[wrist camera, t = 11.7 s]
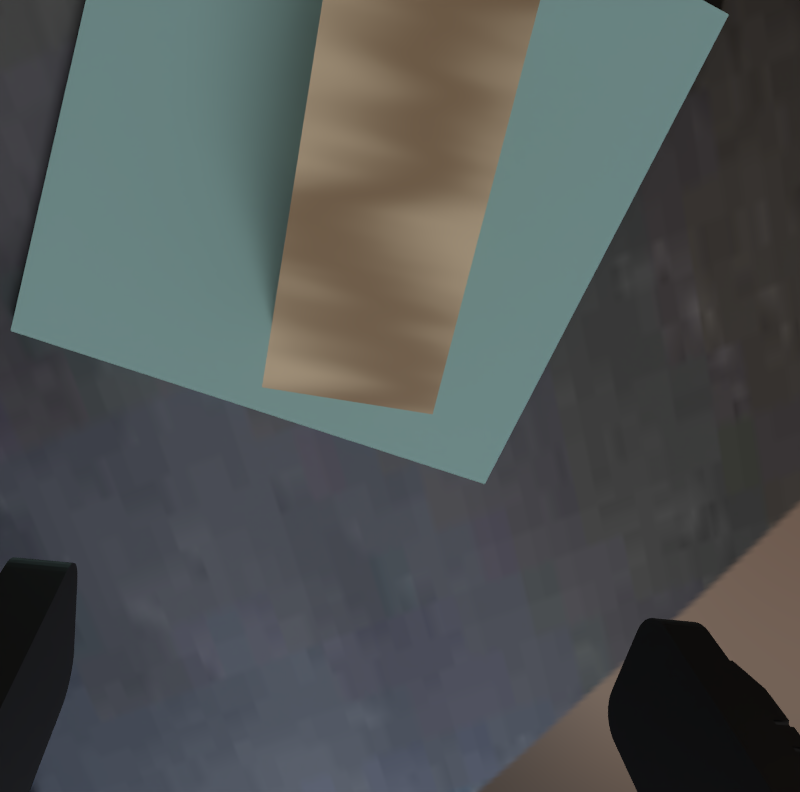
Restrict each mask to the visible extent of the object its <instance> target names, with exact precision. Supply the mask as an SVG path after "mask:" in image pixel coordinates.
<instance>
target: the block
mask: <svg viewBox="0 0 800 792" xmlns="http://www.w3.org/2000/svg"><path fill="white" fill-rule="evenodd" d="M539 3H540V0H323V1H322V8H321V14H320V21H319V27H318V33H317V40H316V46H315V52H314V59H313V65H312V71H311V78H310V84H309V91H308V97H307V103H306V110H305V116H304V122H303V129H302V135H301V142H300V148H299V154H298V161H297V167H296V173H295V180H294V186H293V192H292V199H291V205H290V212H289V218H288V224H287V231H286V237H285V243H284V250H283V256H282V262H281V269H280V275H279V282H278V288H277V294H276V301H275V307H274V313H273V320H272V326H271V333H270V339H269V345H268V352H267V358H266V364H265V371H264V377H263V383H262V387H263V388H269V389H276V390H282V391H288V392H295V393H301V394H307V395H313V396H320V397H326V398H332V399H339V400H345V401H351V402H357V403H364V404H370V405H376V406H383V407H389V408H395V409H402V410H408V411H414V412H420V413H427V414H433V411H434V407H435V403H436V399H437V396H438V392H439V388H440V384H441V380H442V376H443V373H444V369H445V365H446V361H447V357H448V353H449V349H450V346H451V342H452V338H453V334H454V330H455V326H456V322H457V319H458V315H459V311H460V307H461V303H462V299H463V295H464V292H465V288H466V284H467V280H468V276H469V272H470V269H471V265H472V261H473V257H474V253H475V249H476V245H477V242H478V238H479V234H480V230H481V226H482V222H483V218H484V215H485V211H486V207H487V203H488V199H489V195H490V192H491V188H492V184H493V180H494V176H495V172H496V168H497V165H498V161H499V157H500V153H501V149H502V145H503V141H504V138H505V134H506V130H507V126H508V122H509V118H510V114H511V111H512V107H513V103H514V99H515V95H516V91H517V88H518V84H519V80H520V76H521V72H522V68H523V64H524V61H525V57H526V53H527V49H528V45H529V41H530V37H531V34H532V30H533V26H534V22H535V18H536V14H537V11H538V7H539Z"/></svg>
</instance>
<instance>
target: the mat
mask: <svg viewBox="0 0 800 792" xmlns="http://www.w3.org/2000/svg"><path fill="white" fill-rule="evenodd" d="M322 1H323V0H86V2H85V6H84V10H83V15H82V19H81V24H80V28H79V32H78V37H77V41H76V46H75V50H74V54H73V59H72V63H71V68H70V72H69V76H68V81H67V85H66V90H65V94H64V98H63V103H62V107H61V112H60V116H59V120H58V125H57V129H56V134H55V138H54V142H53V147H52V151H51V156H50V160H49V164H48V169H47V173H46V177H45V182H44V186H43V191H42V195H41V199H40V204H39V208H38V213H37V217H36V221H35V226H34V230H33V235H32V239H31V243H30V248H29V252H28V257H27V261H26V265H25V270H24V274H23V279H22V283H21V287H20V292H19V296H18V301H17V305H16V309H15V314H14V318H13V323H12V327H11V331H13V332H16V333H19V334H22V335H25V336H28V337H31V338H34V339H38V340H41V341H44V342H47V343H50V344H53V345H56V346H59V347H62V348H65V349H68V350H72V351H75V352H78V353H81V354H84V355H87V356H90V357H93V358H96V359H99V360H102V361H106V362H109V363H112V364H115V365H118V366H121V367H124V368H127V369H130V370H133V371H137V372H140V373H143V374H146V375H149V376H152V377H155V378H158V379H161V380H164V381H167V382H171V383H174V384H177V385H180V386H183V387H186V388H189V389H192V390H195V391H198V392H201V393H205V394H208V395H211V396H214V397H217V398H220V399H223V400H226V401H229V402H232V403H235V404H239V405H242V406H245V407H248V408H251V409H254V410H257V411H260V412H263V413H266V414H270V415H273V416H276V417H279V418H282V419H285V420H288V421H291V422H294V423H297V424H300V425H304V426H307V427H310V428H313V429H316V430H319V431H322V432H325V433H328V434H331V435H334V436H338V437H341V438H344V439H347V440H350V441H353V442H356V443H359V444H362V445H365V446H368V447H372V448H375V449H378V450H381V451H384V452H387V453H390V454H393V455H396V456H399V457H403V458H406V459H409V460H412V461H415V462H418V463H421V464H424V465H427V466H430V467H433V468H437V469H440V470H443V471H446V472H449V473H452V474H455V475H458V476H461V477H464V478H467V479H471V480H474V481H477V482H480V483H483V484H485V483H486V481H487V479H488V477H489V475H490V473H491V471H492V469H493V467H494V465H495V463H496V461H497V459H498V458H499V456H500V454H501V452H502V450H503V448H504V446H505V444H506V442H507V440H508V438H509V436H510V434H511V433H512V431H513V429H514V427H515V425H516V423H517V421H518V419H519V417H520V415H521V413H522V411H523V409H524V408H525V406H526V404H527V402H528V400H529V398H530V396H531V394H532V392H533V390H534V388H535V386H536V384H537V383H538V381H539V379H540V377H541V375H542V373H543V371H544V369H545V367H546V365H547V363H548V361H549V359H550V358H551V356H552V354H553V352H554V350H555V348H556V346H557V344H558V342H559V340H560V338H561V336H562V334H563V333H564V331H565V329H566V327H567V325H568V323H569V321H570V319H571V317H572V315H573V313H574V311H575V309H576V308H577V306H578V304H579V302H580V300H581V298H582V296H583V294H584V292H585V290H586V288H587V286H588V284H589V283H590V281H591V279H592V277H593V275H594V273H595V271H596V269H597V267H598V265H599V263H600V261H601V259H602V258H603V256H604V254H605V252H606V250H607V248H608V246H609V244H610V242H611V240H612V238H613V236H614V234H615V233H616V231H617V229H618V227H619V225H620V223H621V221H622V219H623V217H624V215H625V213H626V211H627V209H628V208H629V206H630V204H631V202H632V200H633V198H634V196H635V194H636V192H637V190H638V188H639V186H640V184H641V183H642V181H643V179H644V177H645V175H646V173H647V171H648V169H649V167H650V165H651V163H652V161H653V159H654V158H655V156H656V154H657V152H658V150H659V148H660V146H661V144H662V142H663V140H664V138H665V136H666V134H667V133H668V131H669V129H670V127H671V125H672V123H673V121H674V119H675V117H676V115H677V113H678V111H679V109H680V108H681V106H682V104H683V102H684V100H685V98H686V96H687V94H688V92H689V90H690V88H691V86H692V84H693V83H694V81H695V79H696V77H697V75H698V73H699V71H700V69H701V67H702V65H703V63H704V61H705V59H706V58H707V56H708V54H709V52H710V50H711V48H712V46H713V44H714V42H715V40H716V38H717V36H718V34H719V33H720V31H721V29H722V27H723V25H724V23H725V21H726V19H727V17H728V15H729V14H727V13H725V12H723V11H721V10H720V9H718V8H716V7H714V6H712V5H711V4H709V3H707V2H705V1H703V0H540V3H539V7H538V11H537V14H536V18H535V22H534V26H533V30H532V34H531V37H530V41H529V45H528V49H527V53H526V57H525V61H524V64H523V68H522V72H521V76H520V80H519V84H518V88H517V91H516V95H515V99H514V103H513V107H512V111H511V114H510V118H509V122H508V126H507V130H506V134H505V138H504V141H503V145H502V149H501V153H500V157H499V161H498V165H497V168H496V172H495V176H494V180H493V184H492V188H491V192H490V195H489V199H488V203H487V207H486V211H485V215H484V218H483V222H482V226H481V230H480V234H479V238H478V242H477V245H476V249H475V253H474V257H473V261H472V265H471V269H470V272H469V276H468V280H467V284H466V288H465V292H464V295H463V299H462V303H461V307H460V311H459V315H458V319H457V322H456V326H455V330H454V334H453V338H452V342H451V346H450V349H449V353H448V357H447V361H446V365H445V369H444V373H443V376H442V380H441V384H440V388H439V392H438V396H437V399H436V403H435V407H434V411H433V414H427V413H420V412H414V411H408V410H402V409H395V408H389V407H383V406H376V405H370V404H364V403H357V402H351V401H345V400H339V399H332V398H326V397H320V396H313V395H307V394H301V393H295V392H288V391H282V390H276V389H269V388H263V387H262V383H263V377H264V371H265V364H266V358H267V352H268V345H269V339H270V333H271V326H272V320H273V313H274V307H275V301H276V294H277V288H278V282H279V275H280V269H281V262H282V256H283V250H284V243H285V237H286V231H287V224H288V218H289V212H290V205H291V199H292V192H293V186H294V180H295V173H296V167H297V161H298V154H299V148H300V142H301V135H302V129H303V122H304V116H305V110H306V103H307V97H308V91H309V84H310V78H311V71H312V65H313V59H314V52H315V46H316V40H317V33H318V27H319V21H320V14H321V8H322Z"/></svg>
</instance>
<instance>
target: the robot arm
mask: <svg viewBox="0 0 800 792" xmlns="http://www.w3.org/2000/svg"><path fill="white" fill-rule="evenodd" d="M76 595H77V566H76V564H75V563H69V562H58V561H47V560H36V559H25V558H11V559H10V560H9V561H8V562H7V563H6V565H5V566H4V568H3V569H2V571H1V573H0V792H29V791H30V788H31V786H32V783H33V780H34V778H35V775H36V773H37V770H38V767H39V765H40V762H41V760H42V757H43V755H44V752H45V749H46V747H47V744H48V742H49V739H50V737H51V734H52V731H53V729H54V726H55V724H56V721H57V718H58V716H59V713H60V711H61V708H62V705H63V702H64V699H65V696H66V693H67V689H68V685H69V681H70V676H71V671H72V665H73V657H74V639H75V617H76ZM608 719H609V726H610V731H611V734H612V737H613V740H614V742H615V744H616V747H617V749H618V751H619V753H620V755H621V757H622V760H623V762H624V764H625V766H626V768H627V770H628V772H629V775H630V777H631V779H632V781H633V783H634V785H635V787H636V789H637V792H800V735H799V733H798V732H797V731H796V729H795V728H794V727H790V726H789V720H788V719H787V718H786V716H785V715H784V713H783V712H782V711H781V709H780V708H779V707H778V705H777V704H776V703H775V701H774V700H773V699H772V697H771V696H770V695H769V693H768V692H767V691H766V689H765V688H763V687H762V686H761V685H760V684H759V683H758V682H757V681H755V680H754V679H753V678H752V677H751V676H750V675H748V674H747V673H746V672H745V671H744V670H742V668H740V667H739V666H738V665H737V664H736V663H734V662H733V661H730V660H729V659H728V658H727V656H726V655H725V654H724V652H723V651H722V649H721V648H720V647H719V645H718V644H717V643H716V641H715V640H714V638H713V637H712V636H711V634H710V633H709V632H708V630H707V629H706V628H705V627H704V626H702V625H701V624H699V623H696V622H688V621H677V620H666V619H656V618H649V619H647V620H645V621H644V622H643V623H642V624H641V625H640V627H639V629H638V631H637V633H636V635H635V638H634V640H633V642H632V645H631V647H630V649H629V652H628V654H627V656H626V659H625V661H624V663H623V666H622V668H621V670H620V673H619V675H618V678H617V680H616V682H615V685H614V687H613V689H612V692H611V695H610V699H609V706H608Z"/></svg>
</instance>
